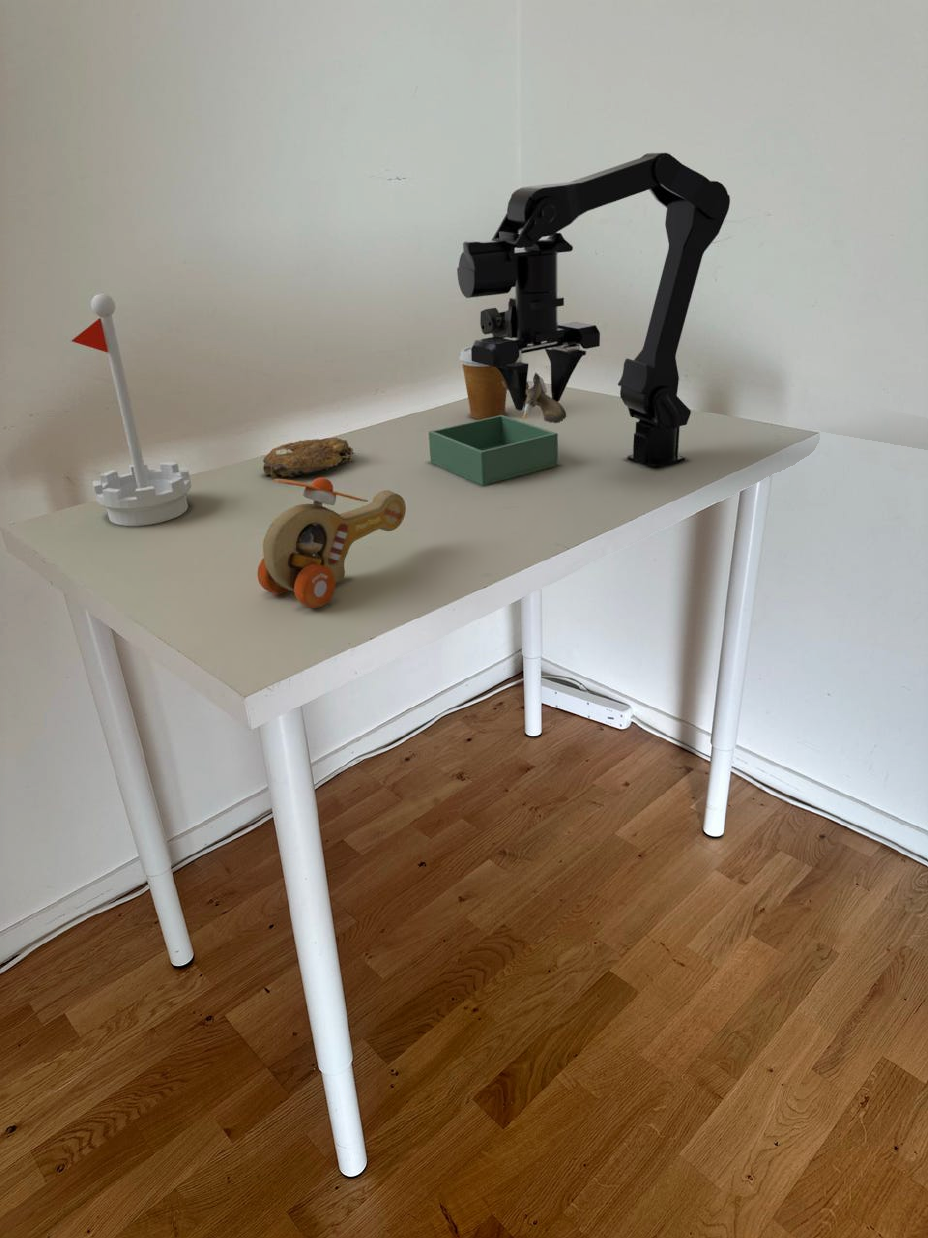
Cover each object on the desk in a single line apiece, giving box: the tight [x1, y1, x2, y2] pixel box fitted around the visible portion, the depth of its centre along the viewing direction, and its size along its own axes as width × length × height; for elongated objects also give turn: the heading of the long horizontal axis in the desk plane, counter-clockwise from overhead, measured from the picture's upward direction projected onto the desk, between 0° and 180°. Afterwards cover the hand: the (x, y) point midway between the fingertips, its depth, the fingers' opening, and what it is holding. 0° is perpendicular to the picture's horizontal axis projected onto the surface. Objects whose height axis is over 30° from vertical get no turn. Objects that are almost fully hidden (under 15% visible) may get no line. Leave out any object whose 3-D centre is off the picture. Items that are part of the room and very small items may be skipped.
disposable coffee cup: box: [458, 345, 508, 420], centre depth 167 cm, size 10×10×12 cm
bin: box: [428, 415, 559, 486], centre depth 142 cm, size 14×15×5 cm
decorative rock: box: [262, 437, 356, 479], centre depth 146 cm, size 11×4×15 cm
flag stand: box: [71, 293, 192, 527], centre depth 124 cm, size 13×13×30 cm
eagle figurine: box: [502, 372, 567, 424], centre depth 129 cm, size 8×7×9 cm
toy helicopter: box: [257, 477, 407, 609], centre depth 105 cm, size 8×21×14 cm, turn 140°
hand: (537, 405), depth 129 cm, fingers closed on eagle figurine, 6 cm apart
